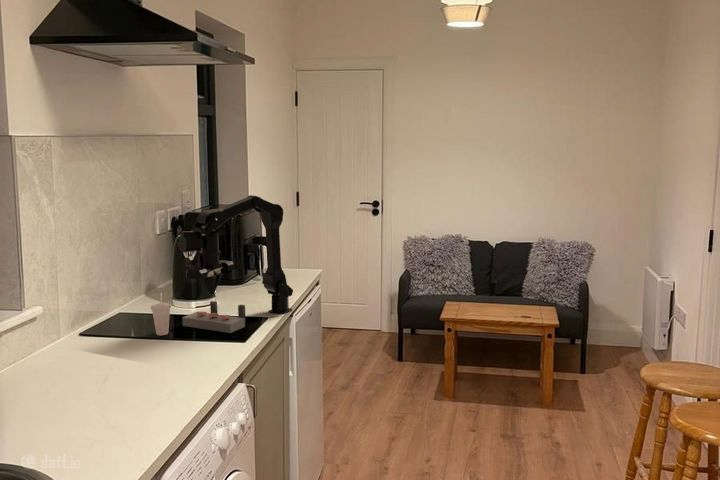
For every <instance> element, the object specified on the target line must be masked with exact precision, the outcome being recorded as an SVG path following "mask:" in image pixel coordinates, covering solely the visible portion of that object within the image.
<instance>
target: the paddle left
mask: <svg viewBox="0 0 720 480" xmlns="http://www.w3.org/2000/svg"><path fill="white" fill-rule="evenodd" d="M196 312H197V315H201V316H202V315H207V313H208V312H207V311H203V310H202V311H196Z"/></svg>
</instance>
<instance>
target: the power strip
mask: <svg viewBox="0 0 720 480" xmlns="http://www.w3.org/2000/svg"><path fill="white" fill-rule="evenodd" d="M197 312H198V311H196V312H193V313H190V314H187V315H185V316H182V327H189V328H195V329H201V330H207V331H208V330H209V331H216V332H220V333H227V334H232V333H234V332H236V331H238V330H242V329H243V328H245V327H246V323H245V318H239V317H237V316H231V315H230V318H229V319H222V318H220V316H221V315H222V314H218V317H208V315H209V314H210V313H211V312H210V313H209V312H207V315H202V316H201V315H197Z"/></svg>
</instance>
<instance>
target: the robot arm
mask: <svg viewBox="0 0 720 480" xmlns="http://www.w3.org/2000/svg"><path fill="white" fill-rule="evenodd" d="M252 210H254V211H255V212H257V213H258V214H259V215H260V220H261V223H262V225H263V227H264V228H265V242H266V243H265V244H266V246H265V247H266V248H265V249H266V261H267V268H266V270H265V272H262V273H261V279H262V282H261V283H262V285H263V287H264V288H265V290H266V291H267V294H269V295H271V309H269V310H268V313H275V314H282V315H283V314H287V313H289V312H291V311H293V308H291V307H290V306H289V304H290V302H289V297H291V296H293V294H294V293H293V292H294V289H293V288H292V287H291V286H290V285H289V284H288V282H287V277H286V274H285V272H284V270H283V268H282V257H281V254H282V253H281V238H280V234H281V233H280V227H281V225H282V223H283V221H284V220H283V219H284V209H283V207H282V206H281V204H279V203H272V202H270V201H267V200H266V199H263V198H262V197H260V196H259V195H252V194H251V195H248V196H247V197H245V198H242V199H239V200H238V201H235V202H233V203H230V204H227V205H224V206H223V207H220V208H213V209H212V208H211V209H207V210H202V211H200V212H199V213H198V215H197V217H196V221H195V223H194V224H193V226H192V227H191V230H189V231H186V230H185V231H184V230H183V231H180V236H179V237H178V240H177V246H178V249H179V251H180V252H181V253H189V252H197V251H199V252H198V254H197V256H196V257H193V256H192V255H190V256H186V257H184V265H185V266H186V267H187V268H188V269H187V270H186V272H185V274H186V276H185V277H186V279H195V280H203V282H204V283H205V284H204V285H206V288H207V291H208V293H209V295H212V296H213V295H215V292H216V290H217V288H218V286H219V284H220V282H221V280H222V277H223V276H224V275H225V272H222V271H221V270H224V269H226V270H227V271H232V270H235V263H234V262H233V261H232V260H226V259H225V260H224V259H220V255H222V251H221V250H219V249H220V245H219V236H221V235H222V236H223V235H225V232H224V231H223V230H222V229H221V228H220V227H221V226H223V225H224V224H225V223H226V222H227V221H228V220H229V219H232V218H235V217H237V216H239V215H242V214H243V213H247V212H248V211H252Z"/></svg>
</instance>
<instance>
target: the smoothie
mask: <svg viewBox="0 0 720 480" xmlns="http://www.w3.org/2000/svg"><path fill="white" fill-rule="evenodd" d="M159 294H160V296H159V297H160V302H157V303H153V304H151V305H150V310H151V312H152V317H153V323H154V328H155V334H156V335H157V336H165V335H168V334H169V329H170V328H169V327H170V314H171V313H170V312H171V308H172V304H171V303H170V302H163V292H162V291H160V293H159Z"/></svg>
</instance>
